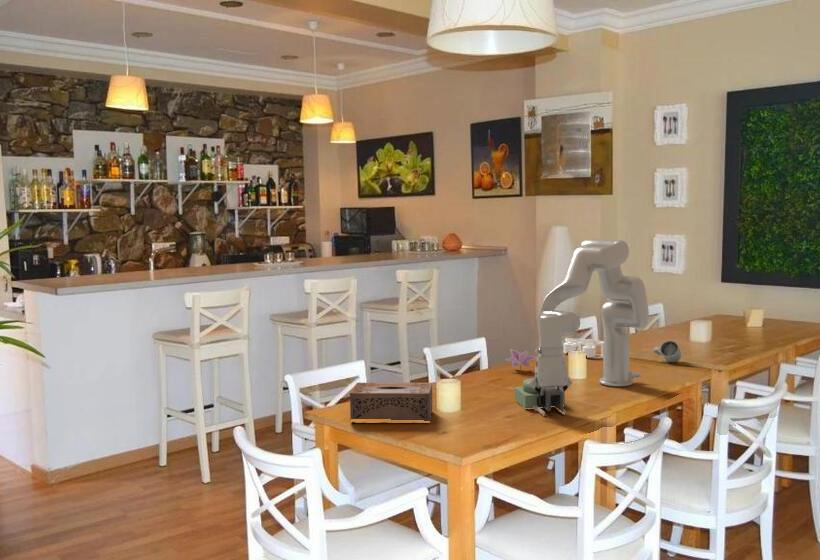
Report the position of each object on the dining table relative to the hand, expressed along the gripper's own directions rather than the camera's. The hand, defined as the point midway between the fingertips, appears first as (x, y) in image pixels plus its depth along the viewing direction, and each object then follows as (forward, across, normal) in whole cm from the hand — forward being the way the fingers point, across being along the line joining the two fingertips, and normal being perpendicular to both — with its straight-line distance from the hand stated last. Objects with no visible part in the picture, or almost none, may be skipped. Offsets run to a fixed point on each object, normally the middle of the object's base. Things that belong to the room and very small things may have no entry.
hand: (550, 404), depth 252 cm
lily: (+3, +9, +60) cm, 61 cm away
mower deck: (+3, 0, +12) cm, 12 cm away
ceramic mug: (+3, +75, +62) cm, 98 cm away
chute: (+1, 0, 0) cm, 1 cm away
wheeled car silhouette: (+3, +46, +84) cm, 96 cm away
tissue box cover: (+3, -52, +8) cm, 53 cm away
